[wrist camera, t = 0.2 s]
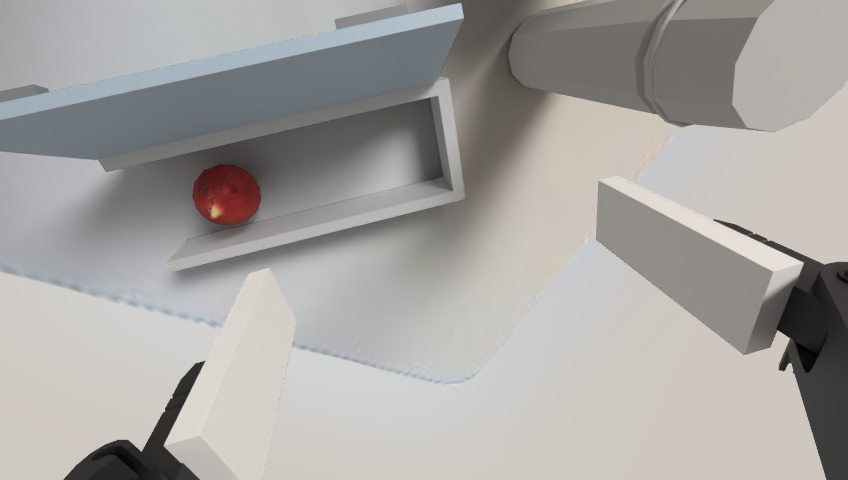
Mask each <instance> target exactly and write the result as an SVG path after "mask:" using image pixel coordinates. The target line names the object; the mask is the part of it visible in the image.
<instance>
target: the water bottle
mask: <svg viewBox="0 0 848 480" xmlns="http://www.w3.org/2000/svg"><path fill="white" fill-rule="evenodd" d="M508 57H509V62H510V66H511V71H512V75H513V76H514V77H515V78H516V79H517V80H518V81H519V82H520V83H521V84H522V85H523V86H525V87H529V88H534V89H539V90H544V91H548V92H553V93H558V94H563V95H567V96H572V97H577V98H582V99H586V100H591V101H596V102H601V103H605V104H610V105H615V106H620V107H624V108H629V109H634V110H639V111H643V112H648V113H653V114H658V115H659V116H660V117H661V118H662V119H663V120H664V121H665V122H667V123H670V124H673V125H677V126H680V127H685V126H689V125H694V124H696V125H706V126H718V127H727V128H737V129H748V130H758V131H769V132H776V131H779V130H781V129H783V128H786V127H788V126H790V125H793V124H795V123H797V122H800V121H802V120H805V119H807V118H809V117H810V116H811V115H812V114H814V113H815V112H816V111H817V110H818V109H819V108H820V107H821V106H822V105H824V104H825V103H826V102H827V101H828V100H829V99H830V98H831V97H832V96H834V95H835V94H836V93H837V92H838V91H839V90H840V89H841V88H842V87H843V86H844V85H845V83H846V81H847V80H848V0H587V1H583V2H578V3H574V4H569V5H565V6H560V7H555V8H551V9H546V10H543V11H540V12H538V13H536V14H534V15H531V16H529V17H527V18H526V19H525V20H524V21H523V22H522V24H521V25H520V26H519V28H518V29H517V30H516V32H515V33H514V34H513V37H512V41H511V45H510V50H509V54H508Z"/></svg>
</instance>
